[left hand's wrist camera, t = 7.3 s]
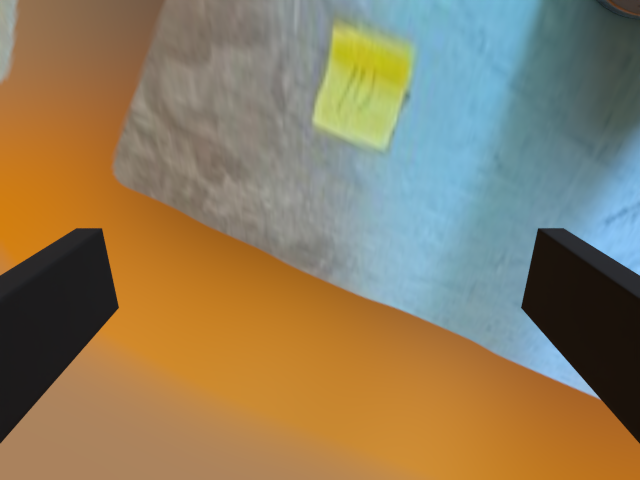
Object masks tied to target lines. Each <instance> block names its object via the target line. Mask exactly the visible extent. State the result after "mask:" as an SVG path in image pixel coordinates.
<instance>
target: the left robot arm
mask: <svg viewBox="0 0 640 480" xmlns="http://www.w3.org/2000/svg"><path fill="white" fill-rule="evenodd" d="M597 1H598V2H599V3H601V4H602V5H603V6H604V7H606V8H607V9H609V10H610V11H612V12H614V13H616V14H619V15H622V16H625V17H629V18H637V19H640V0H597ZM118 308H119V306H118V302H117V297H116V292H115V288H114V283H113V278H112V274H111V269H110V264H109V259H108V255H107V250H106V245H105V241H104V236H103V231H102V229H101V228H77V229H75V230H73V231H72V232H70V233H68V234H67V235H65V236H64V237H62V238H60V239H59V240H57V241H55V242H54V243H52V244H51V245H49V246H47V247H46V248H44V249H42V250H41V251H39V252H38V253H36V254H34V255H33V256H31V257H30V258H28V259H26V260H25V261H23V262H22V263H20V264H18V265H17V266H15V267H14V268H12V269H10V270H9V271H7V272H5V273H4V274H2V275H1V276H0V443H1V442H2V441H3V440H4V439H5V438H6V436H7V435H8V434H9V433H10V432H11V431H12V429H13V428H14V427H15V426H16V425H17V424H18V423H19V421H20V420H21V419H22V418H23V417H24V416H25V415H26V413H27V412H28V411H29V410H30V409H31V408H32V406H33V405H34V404H35V403H36V402H37V401H38V400H39V399H40V397H41V396H42V395H43V394H44V393H45V392H46V391H47V389H48V388H49V387H50V386H51V385H52V384H53V383H54V381H55V380H56V379H57V378H58V377H59V376H60V375H61V373H62V372H63V371H64V370H65V369H66V368H67V367H68V365H69V364H70V363H71V362H72V361H73V360H74V359H75V357H76V356H77V355H78V354H79V353H80V352H81V350H82V349H83V348H84V347H85V346H86V345H87V344H88V342H89V341H90V340H91V339H92V338H93V337H94V336H95V334H96V333H97V332H98V331H99V330H100V329H101V328H102V326H103V325H104V324H105V323H106V322H107V321H108V319H109V318H110V317H111V316H112V315H113V314H114V313H115V312H116V310H117V309H118ZM521 308H522V309H523V310H524V312H525V313H526V314H527V315H528V316H529V317H530V318H531V320H532V321H533V322H534V323H535V324H536V325H537V326H538V328H539V329H540V330H541V331H542V332H543V333H544V334H545V336H546V337H547V338H548V339H549V340H550V341H551V342H552V344H553V345H554V346H555V347H556V348H557V349H558V351H559V352H560V353H561V354H562V355H563V356H564V357H565V359H566V360H567V361H568V362H569V363H570V364H571V365H572V367H573V368H574V369H575V370H576V371H577V372H578V373H579V375H580V376H581V377H582V378H583V379H584V380H585V381H586V383H587V384H588V385H589V386H590V387H591V388H592V389H593V391H594V392H595V393H596V394H597V395H598V396H599V397H600V399H601V400H602V401H603V402H604V403H605V404H606V405H607V407H608V408H609V409H610V410H611V411H612V412H613V413H614V415H615V416H616V417H617V418H618V419H619V420H620V421H621V423H622V424H623V425H624V426H625V427H626V428H627V429H628V431H629V432H630V433H631V434H632V435H633V436H634V438H635V439H636V440H637V441H638V442H639V443H640V276H639V275H638V274H636V273H635V272H633V271H631V270H630V269H628V268H627V267H625V266H623V265H622V264H620V263H618V262H617V261H615V260H614V259H612V258H610V257H609V256H607V255H606V254H604V253H602V252H601V251H599V250H598V249H596V248H594V247H593V246H591V245H589V244H588V243H586V242H585V241H583V240H581V239H580V238H578V237H577V236H575V235H573V234H572V233H570V232H568V231H567V230H565V229H564V228H538V231H537V236H536V241H535V245H534V250H533V255H532V259H531V264H530V269H529V274H528V278H527V283H526V288H525V292H524V297H523V302H522V306H521Z"/></svg>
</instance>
